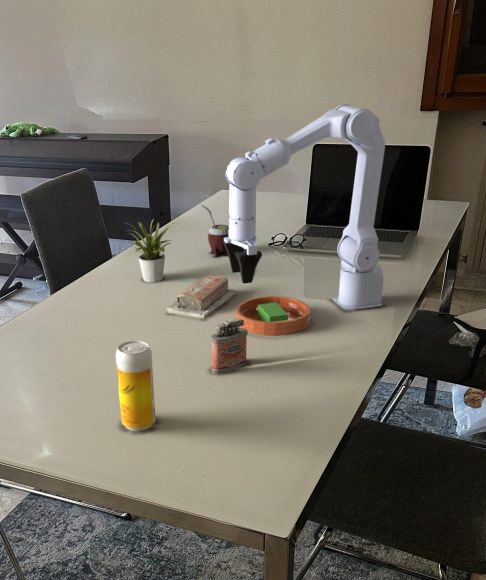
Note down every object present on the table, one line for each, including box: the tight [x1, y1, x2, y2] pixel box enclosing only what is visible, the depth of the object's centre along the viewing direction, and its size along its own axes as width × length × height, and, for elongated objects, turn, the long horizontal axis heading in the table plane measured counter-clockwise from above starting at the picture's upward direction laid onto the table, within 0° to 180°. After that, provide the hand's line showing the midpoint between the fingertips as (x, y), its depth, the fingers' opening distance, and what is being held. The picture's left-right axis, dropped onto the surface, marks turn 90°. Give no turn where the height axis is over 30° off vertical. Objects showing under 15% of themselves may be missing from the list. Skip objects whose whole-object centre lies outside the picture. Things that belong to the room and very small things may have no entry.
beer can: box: [115, 340, 156, 432], centre depth 128 cm, size 6×6×15 cm
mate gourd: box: [200, 204, 229, 258], centre depth 210 cm, size 8×8×15 cm
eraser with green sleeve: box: [256, 302, 289, 322], centre depth 167 cm, size 4×10×3 cm, turn 11°
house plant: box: [125, 219, 175, 283], centre depth 195 cm, size 14×14×16 cm
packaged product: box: [166, 274, 237, 319], centre depth 179 cm, size 18×5×10 cm
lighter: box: [210, 318, 249, 375], centre depth 147 cm, size 8×3×10 cm, turn 117°
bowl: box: [235, 295, 311, 336], centre depth 167 cm, size 16×16×4 cm
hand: (241, 277), depth 166 cm, fingers open, 7 cm apart
